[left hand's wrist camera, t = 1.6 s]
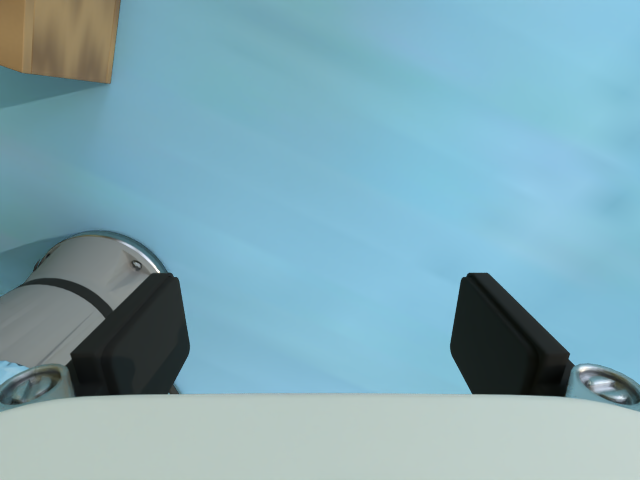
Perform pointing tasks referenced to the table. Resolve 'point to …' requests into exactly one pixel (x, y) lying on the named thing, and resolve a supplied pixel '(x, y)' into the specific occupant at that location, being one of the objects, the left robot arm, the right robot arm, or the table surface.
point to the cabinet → (59, 37)
